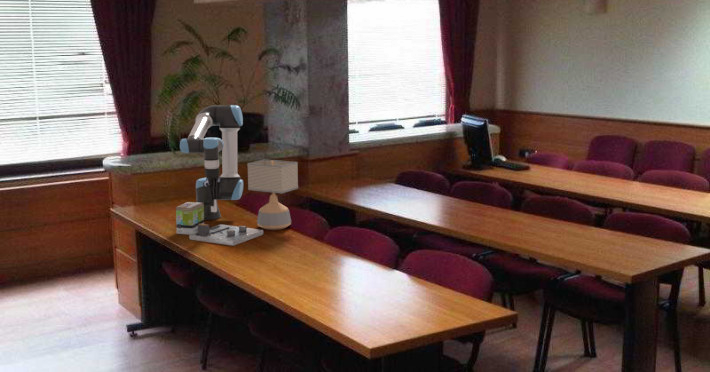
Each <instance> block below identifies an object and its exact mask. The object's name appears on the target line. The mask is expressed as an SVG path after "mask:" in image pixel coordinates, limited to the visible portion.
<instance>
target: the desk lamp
mask: <svg viewBox="0 0 710 372" xmlns="http://www.w3.org/2000/svg"><path fill="white" fill-rule="evenodd" d="M298 163H299V162H298V161H287V160H278V159H276V160H275V159H265V158H264V159H260V160H256V161H252V162H247V190H248V191H253V192H255V191H256V192H263V193H271V194H270V195H269V200H268V202H267V203H266V204H264V205H263V206H262V207H260V208H259V210H258V214H257V218H256V223H257V225H256V226H257V227H259V228H262V230H266V231H280V230H283V229H286V228H287V227H289V226H290V225H292V219H291V214H290V209H289V208H288V207H287V206H285V205H283V204H282V203H280V202H279V199H278V198H279V197H278V195H277V194H285V193H288V192H291V191H294V190H298V189H299V179H298V178H299V175H298V173H299V171H298V170H299V169H298V167H299V166H298Z"/></svg>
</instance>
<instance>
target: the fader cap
mask: <svg viewBox="0 0 710 372" xmlns="http://www.w3.org/2000/svg"><path fill="white" fill-rule="evenodd" d="M209 228H210V224H208V223H204V224H199V225H198V234H200V235H206V234H209Z"/></svg>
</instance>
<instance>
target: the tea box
mask: <svg viewBox="0 0 710 372" xmlns="http://www.w3.org/2000/svg"><path fill="white" fill-rule="evenodd" d="M175 214H176V215H175V217H176V218H175V220H176V221H175V222H176V224H175V225H176V234H177V235H178V234H179V235H190V234H193V233H194V232H198V225H199V224H205V220H204V204H203V203H199V202H197V201H196V202H195V201H193V202H192V201H186V202H184V203H182V204H180V205H178V206H175Z"/></svg>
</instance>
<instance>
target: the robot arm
mask: <svg viewBox="0 0 710 372" xmlns="http://www.w3.org/2000/svg"><path fill="white" fill-rule="evenodd" d="M243 121H244V117H243V112H242V108H241V107H240V106H239V105H236V104H235V105H234V104H224V105H223V104H221V105H220V104H218V105H217V104H215V105H214V104H213V105H209V106H207V107H205V108H203V109H202V110H200V111H199V112H198V114H197V115H196V117H195V123H194V125H193V126H192V129H191V131H190V132H189V135H188V137H187V138H182V139H180V141H179V150H180V152H181V153H182V154H203V160H204V175H205V176H206V177H202V178H199V179H197V180H196V182H195V193H196V194H195V195H196V196H195V197H196V199H195V200H196V202H199V203H203V204H204V221H212V220H213V221H214V220H218V219H220V218H221V217H222V214H221V212H220V209H219V208H220V207H219V206H218V201H230V200H231V201H237V200H241V197H242V195H243V191H244V180H243V179H241V176H240V174H238V131H239V130H241V127H242V126H243V124H244V122H243ZM213 126H219V130H220V131H221V138H219V137H210V136H209V137H205V136H206V133H207V132H208V129H210V128H211V127H213ZM204 137H205V138H204ZM220 152H221V153H222V154H221V156H222V159H221V162H222V165H221V166H222V171H221V172H222V173H220V168H219V167H220V158H219V157H220V156H219V153H220Z"/></svg>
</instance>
